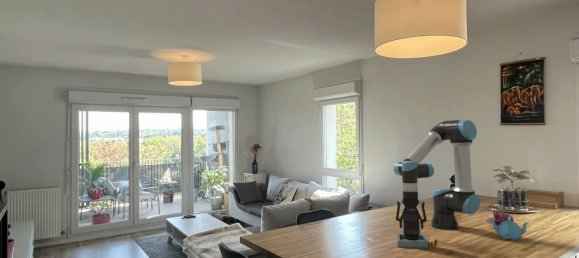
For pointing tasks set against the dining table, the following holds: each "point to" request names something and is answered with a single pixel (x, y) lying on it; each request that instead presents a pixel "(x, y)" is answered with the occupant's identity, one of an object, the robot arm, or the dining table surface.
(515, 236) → the teapot
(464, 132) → the robot arm
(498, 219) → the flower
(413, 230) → the camera lens
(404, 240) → the tray
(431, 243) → the fuse puller tool
